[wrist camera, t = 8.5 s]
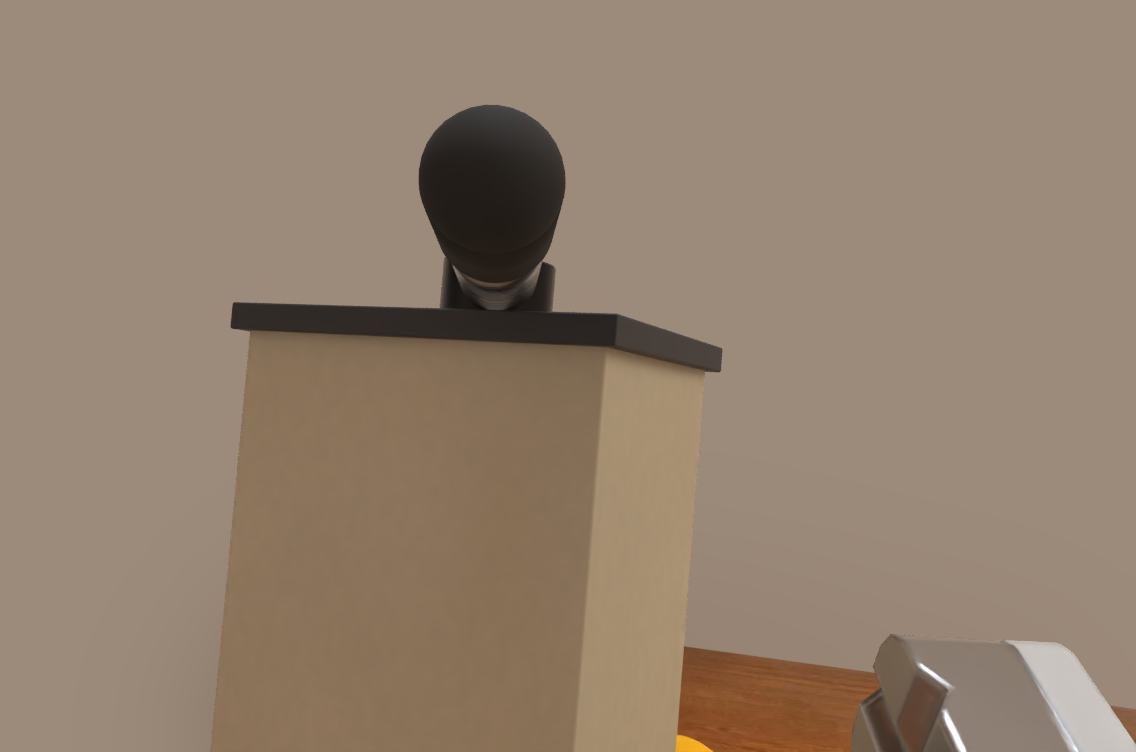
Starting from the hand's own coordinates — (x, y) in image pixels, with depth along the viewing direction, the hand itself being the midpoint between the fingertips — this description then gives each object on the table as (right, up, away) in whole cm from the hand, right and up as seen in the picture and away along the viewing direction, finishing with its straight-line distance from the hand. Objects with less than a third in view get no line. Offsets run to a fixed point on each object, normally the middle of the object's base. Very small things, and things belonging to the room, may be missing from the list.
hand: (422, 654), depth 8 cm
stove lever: (-1, +4, +15) cm, 16 cm away
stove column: (-3, -20, +20) cm, 29 cm away
